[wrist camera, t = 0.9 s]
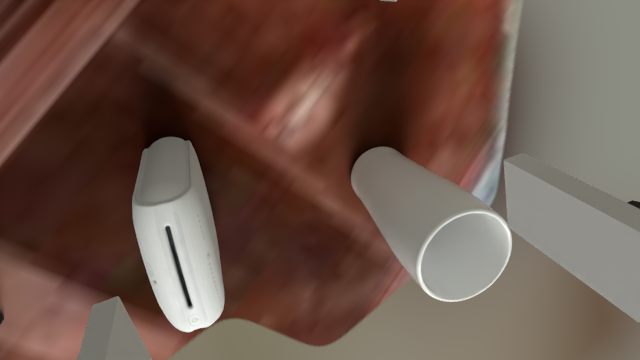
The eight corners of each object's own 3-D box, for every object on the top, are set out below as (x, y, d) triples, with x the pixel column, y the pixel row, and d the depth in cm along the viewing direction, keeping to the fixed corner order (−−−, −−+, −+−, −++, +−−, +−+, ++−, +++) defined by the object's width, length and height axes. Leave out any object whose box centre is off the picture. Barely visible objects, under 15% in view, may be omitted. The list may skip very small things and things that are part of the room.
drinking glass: (416, 136, 42) (525, 205, 29) (405, 205, 44) (501, 299, 31) (344, 136, 40) (425, 210, 27) (337, 208, 42) (408, 308, 29)
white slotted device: (221, 242, 41) (234, 336, 30) (170, 254, 40) (165, 355, 29) (193, 130, 37) (198, 191, 26) (137, 141, 36) (116, 209, 25)
